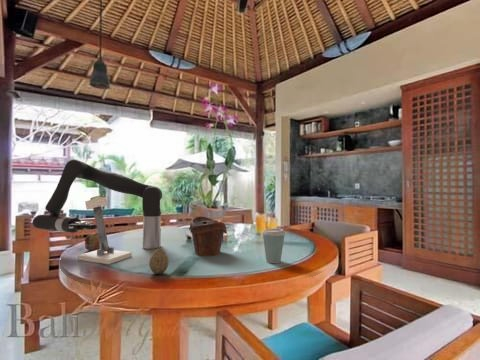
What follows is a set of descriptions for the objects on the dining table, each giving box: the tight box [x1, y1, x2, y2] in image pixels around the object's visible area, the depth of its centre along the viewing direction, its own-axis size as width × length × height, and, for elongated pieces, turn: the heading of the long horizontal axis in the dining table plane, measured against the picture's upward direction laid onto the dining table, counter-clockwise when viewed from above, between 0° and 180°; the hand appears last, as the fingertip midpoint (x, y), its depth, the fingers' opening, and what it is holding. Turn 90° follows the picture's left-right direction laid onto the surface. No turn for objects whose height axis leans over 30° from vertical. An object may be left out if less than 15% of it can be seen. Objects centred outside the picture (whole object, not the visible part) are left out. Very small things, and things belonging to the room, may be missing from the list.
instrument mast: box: [84, 194, 110, 252], centre depth 132 cm, size 8×5×26 cm, turn 70°
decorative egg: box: [149, 247, 169, 275], centre depth 110 cm, size 7×7×10 cm
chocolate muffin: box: [188, 216, 228, 257], centre depth 144 cm, size 18×20×18 cm
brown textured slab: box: [84, 231, 100, 251], centre depth 148 cm, size 15×3×8 cm, turn 179°
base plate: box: [77, 246, 132, 265], centre depth 131 cm, size 18×14×4 cm
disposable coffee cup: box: [261, 227, 286, 264], centre depth 130 cm, size 11×11×15 cm
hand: (94, 226), depth 133 cm, fingers closed
